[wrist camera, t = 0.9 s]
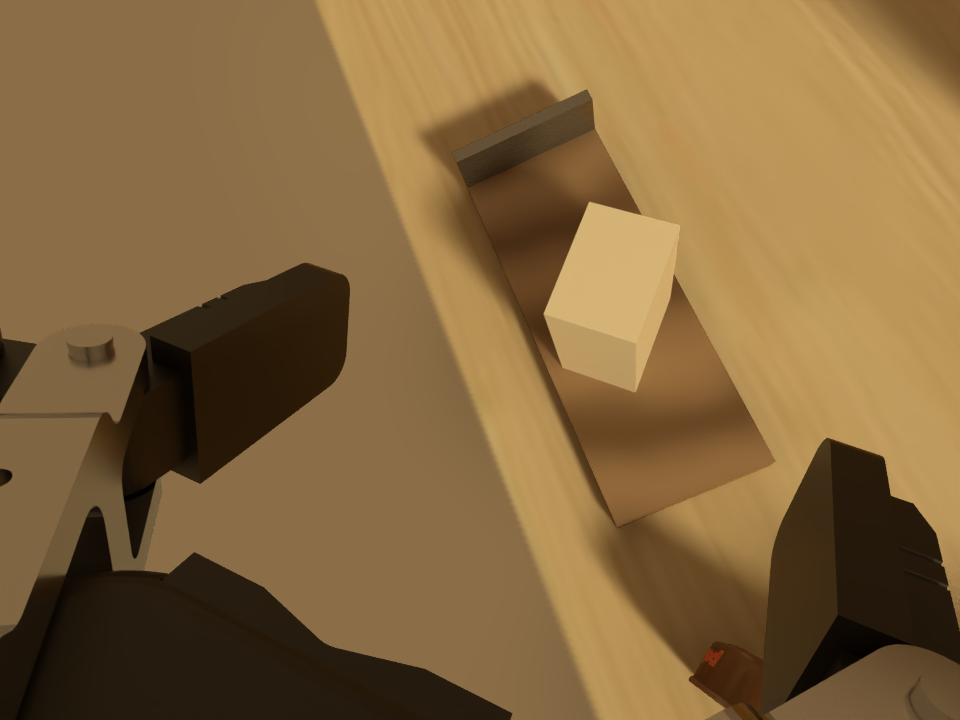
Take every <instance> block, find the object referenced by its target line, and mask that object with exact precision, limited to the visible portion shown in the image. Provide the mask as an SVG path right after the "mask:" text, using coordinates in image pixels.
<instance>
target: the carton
mask: <svg viewBox="0 0 960 720" xmlns="http://www.w3.org/2000/svg"><path fill="white" fill-rule="evenodd" d="M679 232H680V225H677V224H673V223H669V222H665V221H661V220H657V219H654V218H650V217H646V216H642V215H638V214H634V213H631V212H627V211H623V210H619V209H615V208H611V207H607V206H604V205H600V204H596V203H592V202H589V204H588V206H587V208H586V211H585V213H584V216H583V218H582V221H581V223H580V226H579V228H578V231H577V233H576V235H575V238H574V240H573V243H572V245H571V248H570V250H569V253H568V255H567V258H566V260H565V262H564V265H563V267H562V270H561V272H560V275H559V277H558V280H557V282H556V285H555V287H554V290H553V292H552V294H551V297H550V299H549V302H548V304H547V307H546V309H545V312H544V317H545V319H546V322H547V325H548V328H549V331H550V334H551V337H552V339H553V342H554V345H555V348H556V351H557V354H558V356H559V359H560V362H561V365H562V368H565V369H568V370H571V371H574V372H577V373H580V374H582V375H585V376H588V377H591V378H594V379H597V380H600V381H603V382H606V383H609V384H612V385H615V386H618V387H621V388H623V389H626V390H629V391H632V392H636V390H637V387H638V384H639V382H640V379H641V376H642V374H643V371H644V368H645V365H646V363H647V360H648V357H649V355H650V352H651V349H652V346H653V344H654V341H655V338H656V336H657V333H658V330H659V327H660V325H661V322H662V319H663V317H664V314H665V311H666V309H667V306H668V303H669V300H670V297H671V290H672V282H673V275H674V268H675V261H676V254H677V246H678V239H679Z"/></svg>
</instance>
